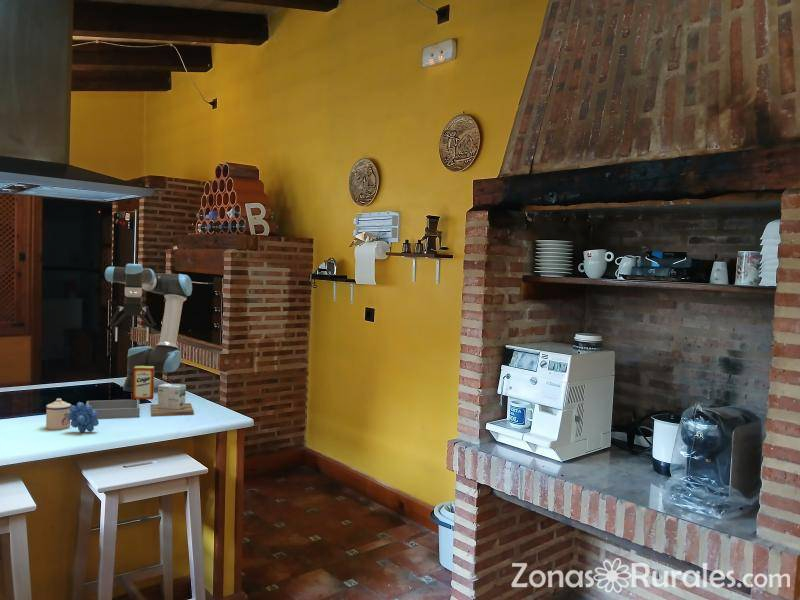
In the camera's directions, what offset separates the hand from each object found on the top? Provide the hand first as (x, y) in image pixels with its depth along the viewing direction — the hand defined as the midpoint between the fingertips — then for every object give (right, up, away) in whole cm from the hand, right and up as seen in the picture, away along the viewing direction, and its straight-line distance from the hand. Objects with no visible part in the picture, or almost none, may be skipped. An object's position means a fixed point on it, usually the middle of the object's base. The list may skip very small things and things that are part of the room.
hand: (131, 341), depth 297 cm
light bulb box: (+21, -31, -6) cm, 38 cm away
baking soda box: (-2, -30, +18) cm, 35 cm away
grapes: (+1, -33, -49) cm, 60 cm away
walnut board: (+21, -32, -6) cm, 39 cm away
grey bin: (-2, -31, -16) cm, 35 cm away
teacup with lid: (-11, -32, -42) cm, 54 cm away
